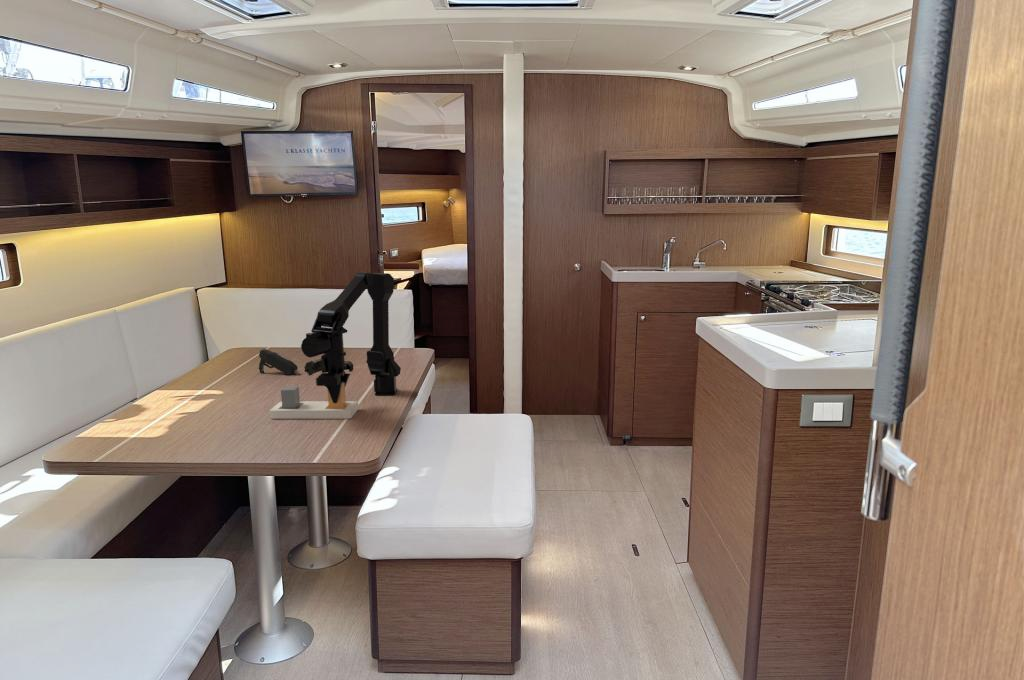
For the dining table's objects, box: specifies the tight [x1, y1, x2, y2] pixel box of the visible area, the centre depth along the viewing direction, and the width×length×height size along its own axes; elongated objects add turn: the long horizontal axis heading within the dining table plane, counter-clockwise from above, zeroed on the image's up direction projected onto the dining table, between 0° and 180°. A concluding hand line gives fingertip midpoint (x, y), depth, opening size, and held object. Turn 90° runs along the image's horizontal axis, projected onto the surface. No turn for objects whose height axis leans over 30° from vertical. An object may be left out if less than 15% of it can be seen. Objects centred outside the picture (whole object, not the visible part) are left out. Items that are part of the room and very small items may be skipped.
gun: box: [258, 348, 300, 376], centre depth 253 cm, size 3×16×10 cm, turn 79°
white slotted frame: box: [268, 400, 359, 420], centre depth 207 cm, size 24×9×2 cm, turn 88°
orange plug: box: [327, 382, 347, 409], centre depth 206 cm, size 4×4×8 cm
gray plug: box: [280, 385, 301, 409], centre depth 206 cm, size 4×4×8 cm
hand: (337, 400), depth 206 cm, fingers closed on orange plug, 4 cm apart
